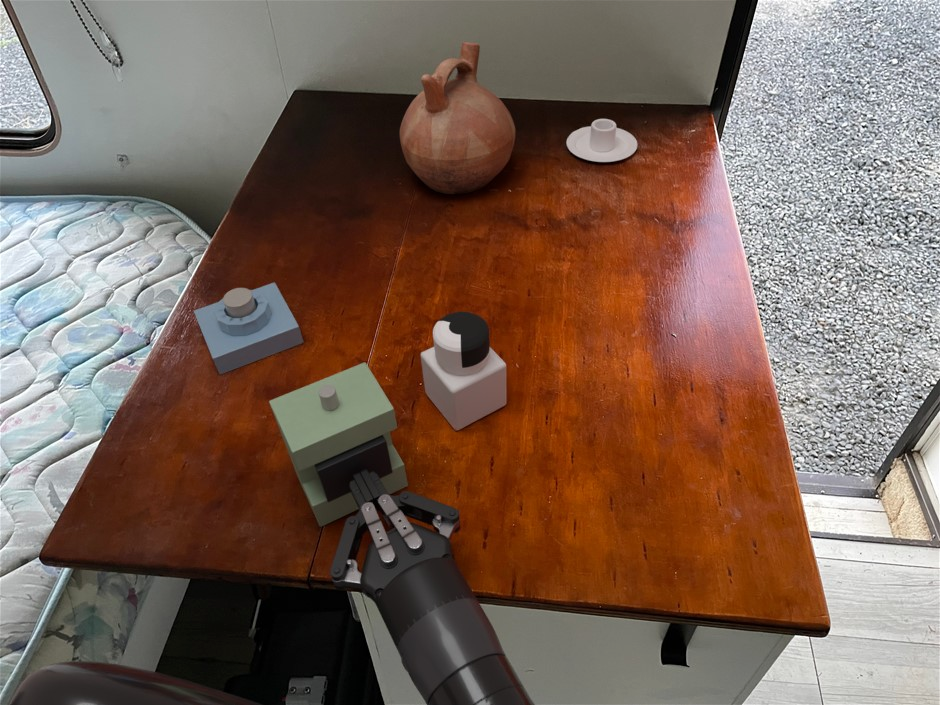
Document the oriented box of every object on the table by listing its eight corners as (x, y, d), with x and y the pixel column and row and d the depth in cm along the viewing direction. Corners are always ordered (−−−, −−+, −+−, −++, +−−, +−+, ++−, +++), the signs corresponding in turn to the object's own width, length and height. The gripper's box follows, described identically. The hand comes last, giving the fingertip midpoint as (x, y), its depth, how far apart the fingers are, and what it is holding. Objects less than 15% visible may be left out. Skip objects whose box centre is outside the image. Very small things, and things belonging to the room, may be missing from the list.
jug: (477, 220, 108) (472, 95, 94) (382, 189, 115) (364, 68, 101) (534, 163, 119) (537, 43, 105) (444, 137, 126) (435, 22, 112)
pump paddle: (328, 502, 70) (317, 471, 66) (324, 495, 70) (313, 463, 66) (393, 472, 72) (386, 440, 68) (389, 465, 72) (382, 433, 68)
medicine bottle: (474, 368, 87) (470, 295, 78) (507, 405, 83) (507, 332, 74) (424, 393, 85) (414, 320, 76) (455, 433, 80) (449, 360, 72)
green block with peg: (320, 527, 73) (287, 439, 62) (297, 477, 77) (263, 386, 66) (408, 486, 76) (391, 394, 65) (382, 440, 80) (362, 347, 69)
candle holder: (564, 130, 126) (565, 107, 123) (632, 128, 125) (635, 105, 122) (568, 166, 118) (569, 142, 115) (641, 165, 117) (644, 141, 114)
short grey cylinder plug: (231, 322, 88) (227, 310, 86) (224, 305, 90) (219, 293, 89) (259, 312, 89) (255, 300, 87) (251, 296, 91) (247, 283, 90)
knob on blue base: (219, 375, 88) (207, 347, 84) (200, 327, 94) (188, 299, 91) (303, 342, 91) (295, 314, 88) (279, 298, 98) (271, 270, 94)
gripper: (511, 571, 57) (417, 424, 68) (358, 654, 53) (285, 483, 64) (511, 611, 62) (424, 469, 73) (373, 689, 58) (303, 526, 69)
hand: (360, 476), depth 68 cm, fingers closed
